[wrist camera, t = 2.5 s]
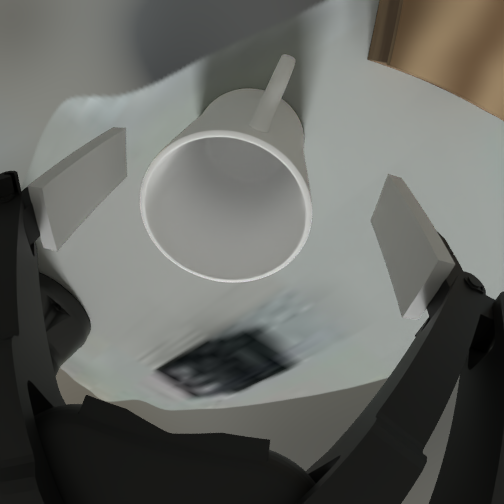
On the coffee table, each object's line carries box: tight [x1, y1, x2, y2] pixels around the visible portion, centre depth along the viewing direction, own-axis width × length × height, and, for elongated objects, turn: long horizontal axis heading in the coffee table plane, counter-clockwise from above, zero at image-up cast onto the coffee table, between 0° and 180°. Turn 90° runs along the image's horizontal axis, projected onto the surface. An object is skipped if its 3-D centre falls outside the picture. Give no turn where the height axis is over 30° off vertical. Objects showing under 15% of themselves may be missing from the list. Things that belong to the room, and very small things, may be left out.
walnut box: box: [367, 0, 504, 121], centre depth 12 cm, size 12×12×6 cm
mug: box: [140, 54, 312, 282], centre depth 18 cm, size 12×8×12 cm
